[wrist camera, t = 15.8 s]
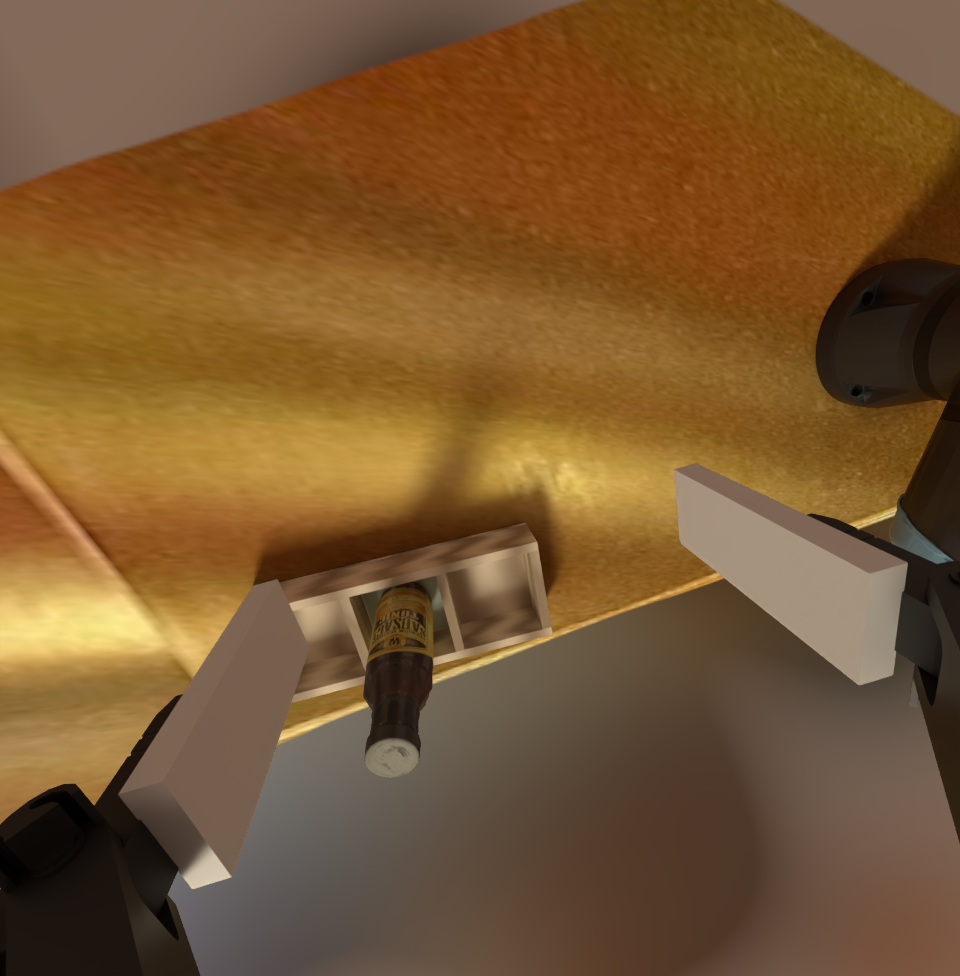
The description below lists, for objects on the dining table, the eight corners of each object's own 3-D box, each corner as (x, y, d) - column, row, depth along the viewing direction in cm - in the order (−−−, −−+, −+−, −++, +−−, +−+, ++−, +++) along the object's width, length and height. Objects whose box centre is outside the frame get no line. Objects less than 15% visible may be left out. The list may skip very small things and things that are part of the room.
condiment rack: (525, 522, 50) (537, 541, 46) (540, 608, 55) (552, 634, 50) (252, 589, 48) (235, 616, 43) (289, 673, 52) (278, 706, 48)
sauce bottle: (428, 574, 50) (438, 717, 32) (434, 620, 52) (447, 779, 34) (370, 583, 49) (345, 734, 31) (379, 629, 51) (360, 796, 33)
